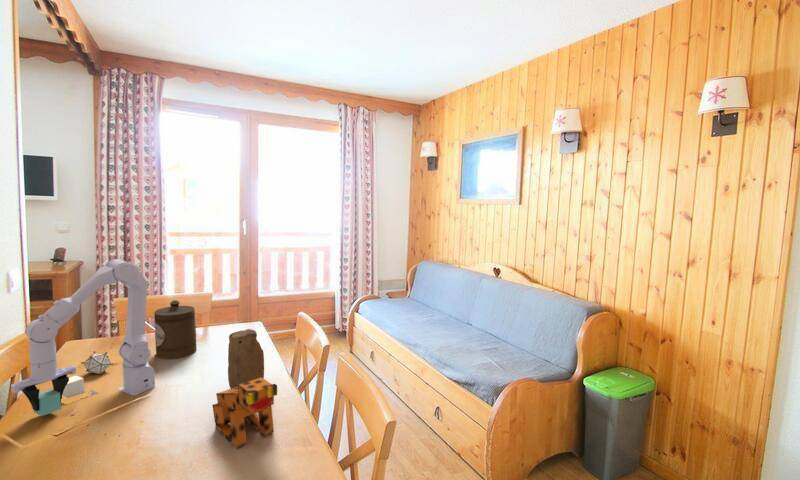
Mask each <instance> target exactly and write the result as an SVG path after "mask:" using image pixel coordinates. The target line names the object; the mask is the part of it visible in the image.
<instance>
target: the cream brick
mask: <svg viewBox="0 0 800 480" xmlns="http://www.w3.org/2000/svg"><path fill="white" fill-rule="evenodd" d="M84 387H85V378H83V377H81V376H78V375H74V376H73V375H72V376H69V382H68V383H67V385H66V387H65V389H64V391H63V396H65V397H67V398H70V397H73V396H76V395H79V394H83V393H85V391H84Z"/></svg>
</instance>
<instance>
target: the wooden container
mask: <svg viewBox="0 0 800 480" xmlns="http://www.w3.org/2000/svg"><path fill="white" fill-rule="evenodd" d="M169 304H170V306H167V307H166V306H165V307H163V308H159V309H156V310H155V311H154V312H153V313H154V335H155V336H154V337H155V356H156V357H158V358H159V359H162V360H163V359H165V360H174V359H175V360H176V359H179V358H184V357H187V356H190V355H192V354H194V353H196V351H197V330H196V328H197V327H196V312H195V311H196V310H195V307H194V306H191V305H180V301H178V300H177V299H175V300H174V299H173V300H171V301H170V303H169Z"/></svg>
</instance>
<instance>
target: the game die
mask: <svg viewBox="0 0 800 480" xmlns="http://www.w3.org/2000/svg"><path fill="white" fill-rule="evenodd" d="M107 353H108V351H105V353H102V352H101V353H100V352H99V353H98V352H96V351H95V350H93V354H92V355H89V357H88V358H87V359H85V361H84V362H81V365H84V366H85V368H86V370H85V372H86V373H87V372H88V374H89V373H90V374H91V373H95V374H94V375H100V374H101V375H102V373H103V372H104V371H106V369H108V368H109V367H110V366H113V365H114V363H111V361H110V359H109V357H110V356H109V355H107Z"/></svg>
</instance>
